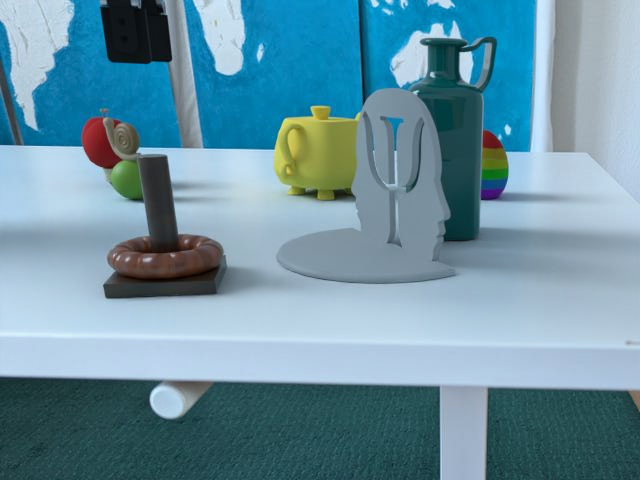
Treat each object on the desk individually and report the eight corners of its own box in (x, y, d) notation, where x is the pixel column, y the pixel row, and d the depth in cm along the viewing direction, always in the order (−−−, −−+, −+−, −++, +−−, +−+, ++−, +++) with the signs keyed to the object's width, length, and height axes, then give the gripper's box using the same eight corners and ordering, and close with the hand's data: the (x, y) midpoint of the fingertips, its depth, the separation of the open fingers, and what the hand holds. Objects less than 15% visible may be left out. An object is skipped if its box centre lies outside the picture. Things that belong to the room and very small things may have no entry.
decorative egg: (451, 199, 108) (452, 130, 104) (459, 190, 115) (460, 126, 111) (505, 202, 107) (508, 133, 103) (509, 193, 114) (512, 128, 110)
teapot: (251, 195, 106) (242, 105, 101) (342, 180, 122) (338, 101, 117) (318, 206, 99) (313, 110, 94) (405, 189, 115) (404, 106, 110)
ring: (97, 283, 60) (92, 258, 59) (126, 255, 68) (122, 232, 67) (216, 280, 62) (213, 255, 61) (229, 252, 70) (227, 231, 69)
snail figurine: (133, 193, 104) (119, 107, 100) (164, 198, 102) (151, 110, 97) (101, 199, 100) (84, 109, 95) (132, 203, 97) (117, 112, 93)
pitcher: (409, 241, 82) (408, 32, 73) (405, 225, 89) (403, 35, 81) (492, 240, 83) (500, 36, 75) (481, 225, 91) (487, 38, 82)
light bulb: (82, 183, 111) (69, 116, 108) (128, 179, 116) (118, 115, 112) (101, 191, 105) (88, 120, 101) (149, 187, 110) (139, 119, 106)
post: (105, 298, 60) (79, 162, 56) (129, 269, 68) (108, 149, 64) (216, 293, 62) (200, 162, 57) (227, 266, 70) (213, 149, 66)
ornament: (458, 274, 70) (462, 94, 63) (337, 296, 62) (326, 93, 56) (352, 231, 86) (345, 83, 79) (244, 245, 78) (228, 82, 71)
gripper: (89, -155, 61) (119, 59, 68) (16, -225, 46) (64, 61, 53) (181, -145, 63) (202, 62, 70) (141, -209, 47) (172, 66, 54)
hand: (143, 62), depth 61 cm, fingers open, 9 cm apart
